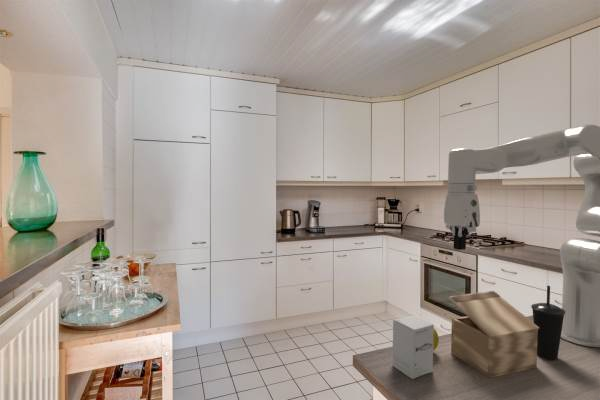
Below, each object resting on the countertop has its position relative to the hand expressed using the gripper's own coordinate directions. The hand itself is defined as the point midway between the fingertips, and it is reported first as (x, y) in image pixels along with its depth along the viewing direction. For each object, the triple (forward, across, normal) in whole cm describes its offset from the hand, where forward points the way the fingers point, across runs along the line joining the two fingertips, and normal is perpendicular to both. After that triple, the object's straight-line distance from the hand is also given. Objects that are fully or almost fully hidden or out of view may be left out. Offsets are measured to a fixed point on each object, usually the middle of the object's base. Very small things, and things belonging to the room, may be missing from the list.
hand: (459, 249), depth 100 cm
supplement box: (+29, -9, +24) cm, 39 cm away
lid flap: (+16, -12, 0) cm, 20 cm away
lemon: (+29, -3, +14) cm, 32 cm away
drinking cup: (+29, -15, -17) cm, 37 cm away
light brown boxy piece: (+28, -12, 0) cm, 31 cm away
